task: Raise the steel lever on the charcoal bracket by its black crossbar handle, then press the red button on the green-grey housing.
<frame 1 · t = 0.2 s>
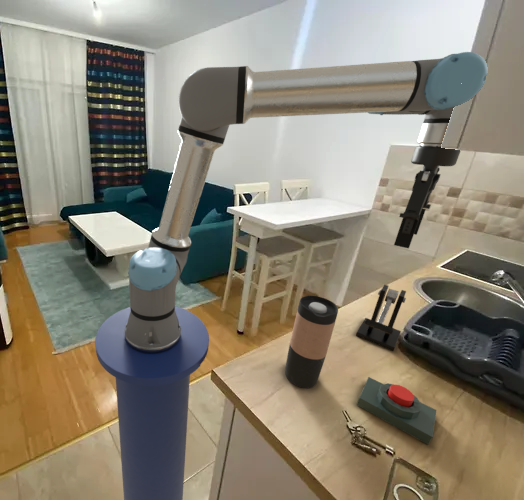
hand: (405, 239, 69), 30 cm above the kitchen counter, tool pointing down, fingers open, 13 cm apart
button: (400, 395, 59), point 4 cm above the kitchen counter, slide at 0.1 cm
button box: (393, 411, 60), on the kitchen counter
lever: (385, 309, 76), point 11 cm above the kitchen counter, hinge at -25.0°
travel mug: (300, 376, 69), on the kitchen counter
bracket: (377, 334, 84), on the kitchen counter
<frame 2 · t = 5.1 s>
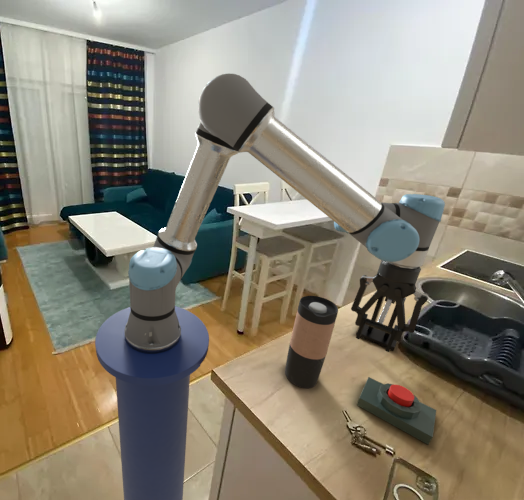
hand: (372, 342, 76), 3 cm above the kitchen counter, tool pointing down, fingers closed on lever, 6 cm apart
lever: (385, 309, 76), point 11 cm above the kitchen counter, hinge at -25.0°, touching gripper
everything else where it was.
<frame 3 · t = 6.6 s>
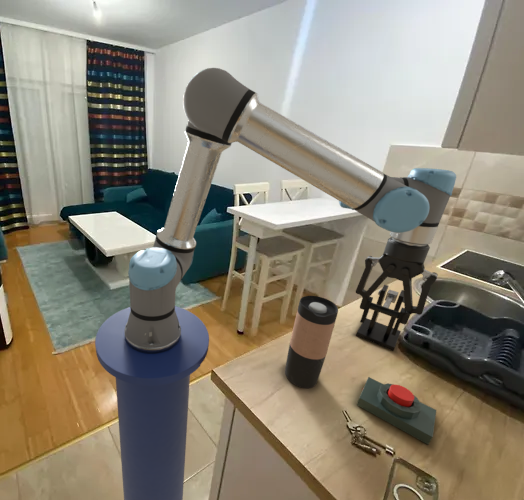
hand: (378, 326, 73), 9 cm above the kitchen counter, tool pointing down, fingers closed on lever, 6 cm apart
lever: (388, 302, 75), point 13 cm above the kitchen counter, hinge at 3.2°, touching gripper
everything else where it was.
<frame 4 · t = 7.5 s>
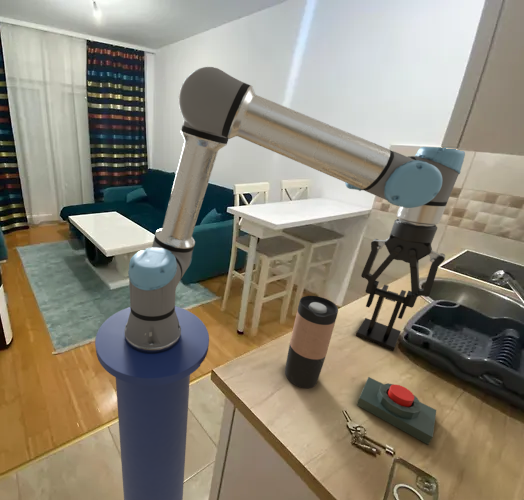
hand: (384, 310, 72), 13 cm above the kitchen counter, tool pointing down, fingers closed on lever, 6 cm apart
lever: (390, 295, 75), point 15 cm above the kitchen counter, hinge at 23.9°, touching gripper
everything else where it was.
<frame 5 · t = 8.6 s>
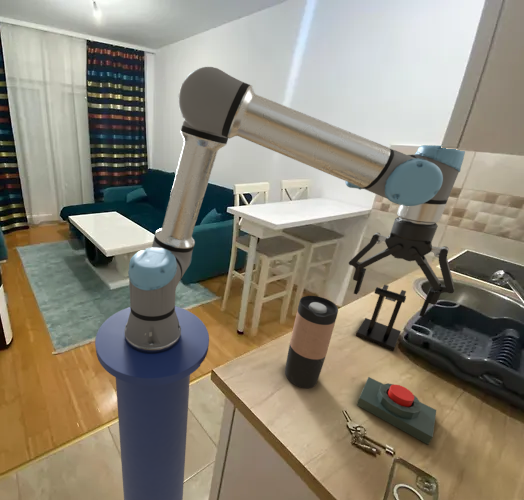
hand: (387, 302, 71), 15 cm above the kitchen counter, tool pointing down, fingers open, 13 cm apart
lever: (390, 295, 75), point 15 cm above the kitchen counter, hinge at 25.0°
everything else where it was.
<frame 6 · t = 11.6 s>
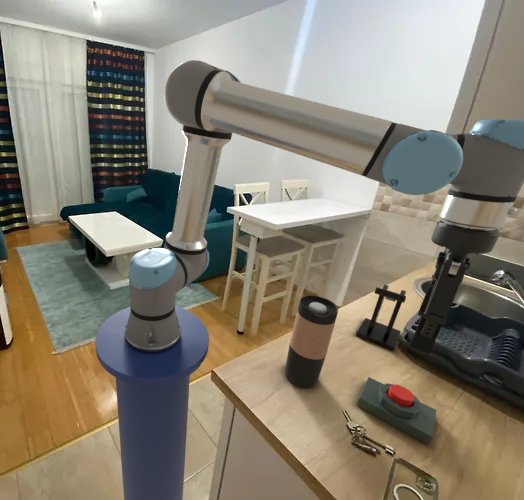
hand: (422, 331, 55), 19 cm above the kitchen counter, tool pointing down, fingers open, 13 cm apart
nothing on the kitchen counter moved.
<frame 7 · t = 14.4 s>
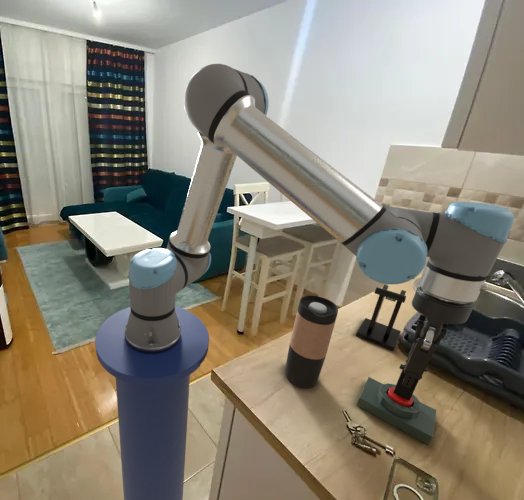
hand: (401, 394, 59), 5 cm above the kitchen counter, tool pointing down, fingers closed
button: (399, 398, 59), point 4 cm above the kitchen counter, slide at -0.7 cm, touching gripper
everything else where it was.
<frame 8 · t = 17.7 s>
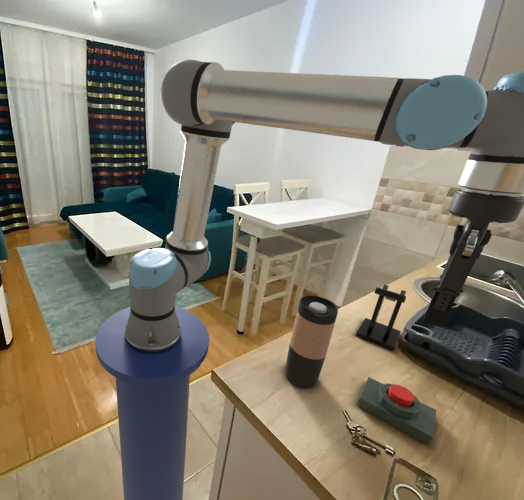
hand: (432, 322, 52), 22 cm above the kitchen counter, tool pointing down, fingers closed
button: (400, 395, 59), point 4 cm above the kitchen counter, slide at 0.1 cm
everything else where it was.
at the end: lever at +25° (first picture: -25°); button pushed in 1.0 cm at the most during the clip, back to where it started at the end; button slide at 0.1 cm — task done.
